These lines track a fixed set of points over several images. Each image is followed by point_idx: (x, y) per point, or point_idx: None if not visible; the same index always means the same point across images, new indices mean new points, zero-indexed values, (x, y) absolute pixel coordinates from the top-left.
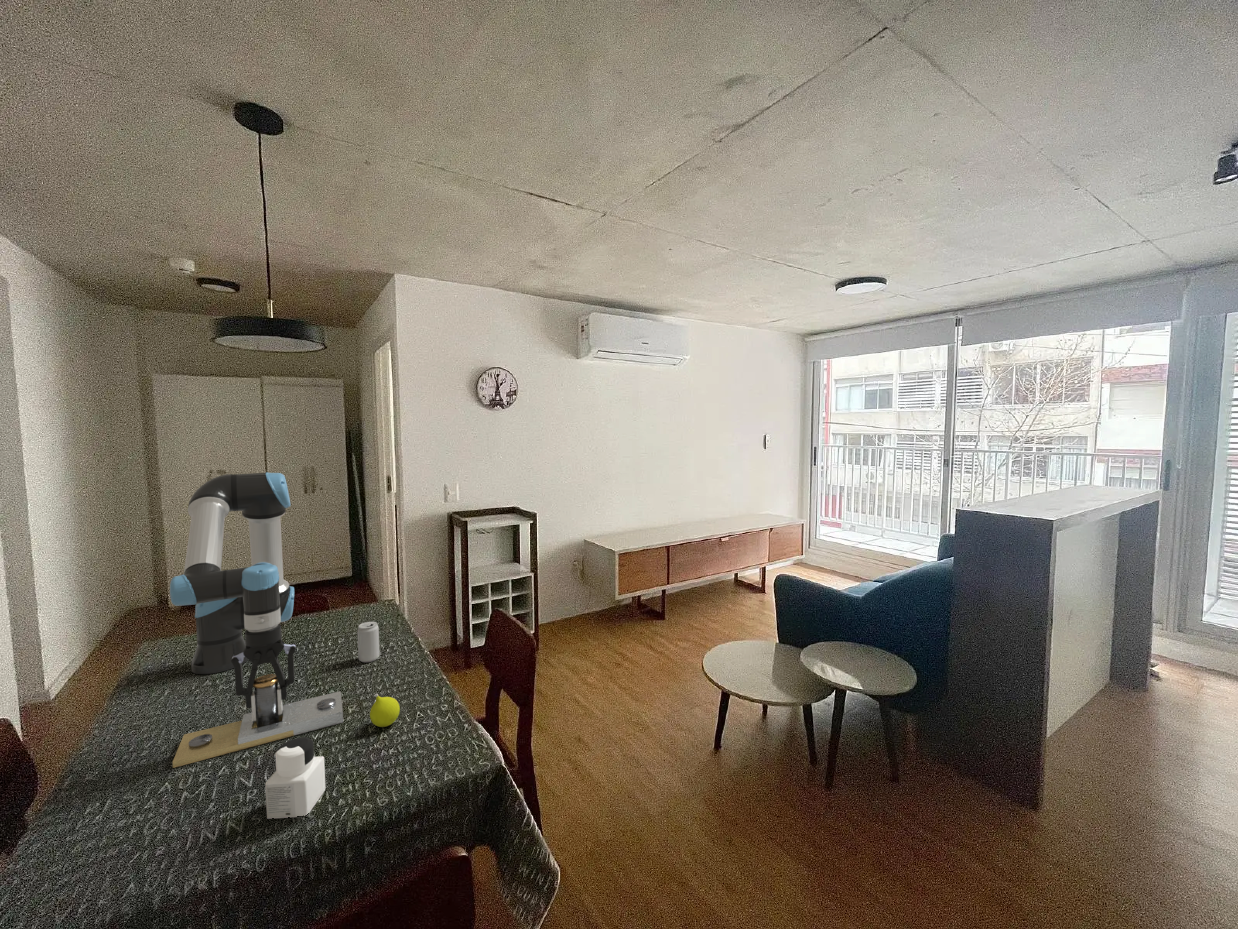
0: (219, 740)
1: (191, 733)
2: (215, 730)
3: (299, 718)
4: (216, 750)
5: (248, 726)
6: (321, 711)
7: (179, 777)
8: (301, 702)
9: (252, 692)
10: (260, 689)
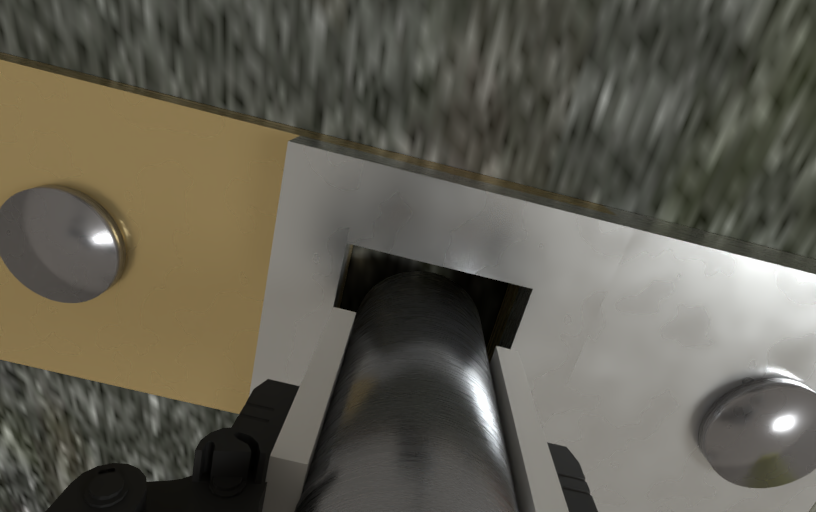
0: (165, 304)
1: None
2: (132, 152)
3: None
4: (159, 393)
5: (302, 351)
6: (692, 486)
7: (47, 426)
8: (667, 273)
9: (271, 480)
10: None
